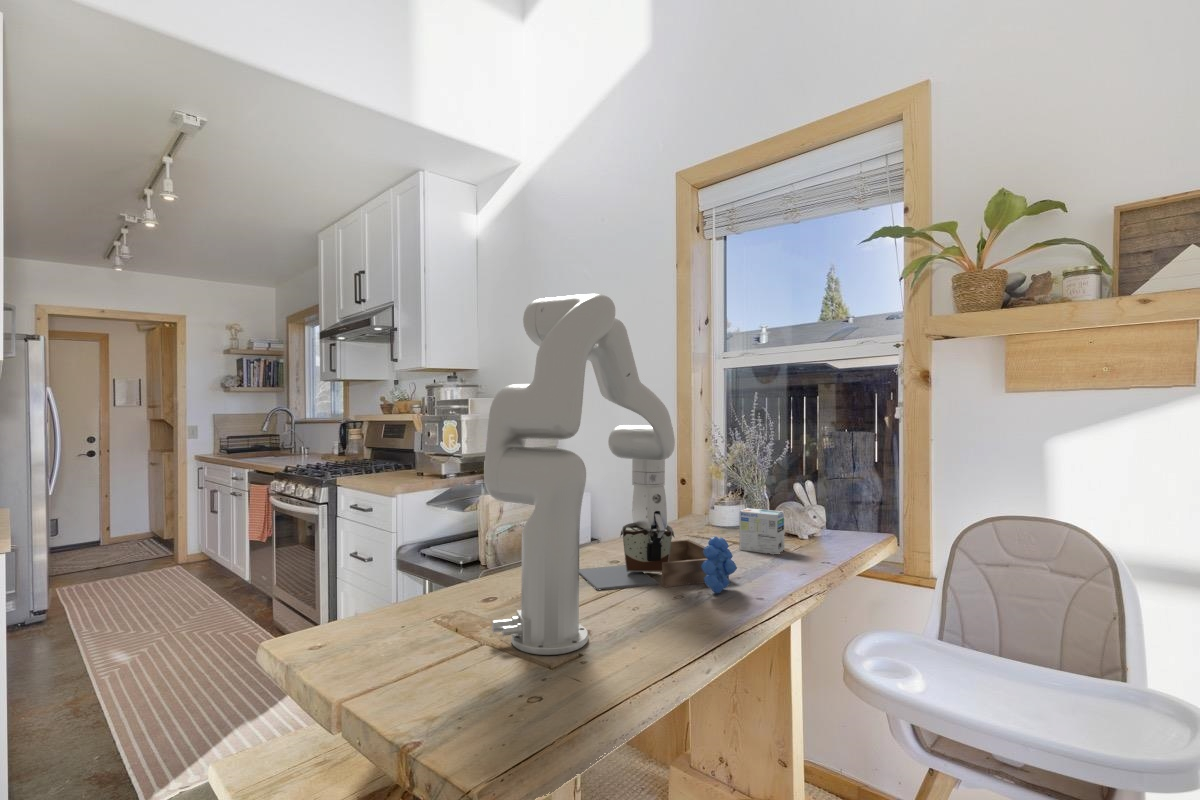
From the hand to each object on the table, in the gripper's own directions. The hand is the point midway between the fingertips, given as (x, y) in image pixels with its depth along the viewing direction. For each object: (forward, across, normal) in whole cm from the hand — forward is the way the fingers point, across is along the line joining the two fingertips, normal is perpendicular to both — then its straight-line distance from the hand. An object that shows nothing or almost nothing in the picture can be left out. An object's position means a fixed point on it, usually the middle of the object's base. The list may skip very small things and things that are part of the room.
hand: (647, 556), depth 136 cm
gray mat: (+4, 0, +8) cm, 9 cm away
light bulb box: (+4, +12, -39) cm, 41 cm away
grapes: (+5, -17, -9) cm, 20 cm away
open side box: (+4, 0, -7) cm, 8 cm away
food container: (+3, +1, 0) cm, 3 cm away
